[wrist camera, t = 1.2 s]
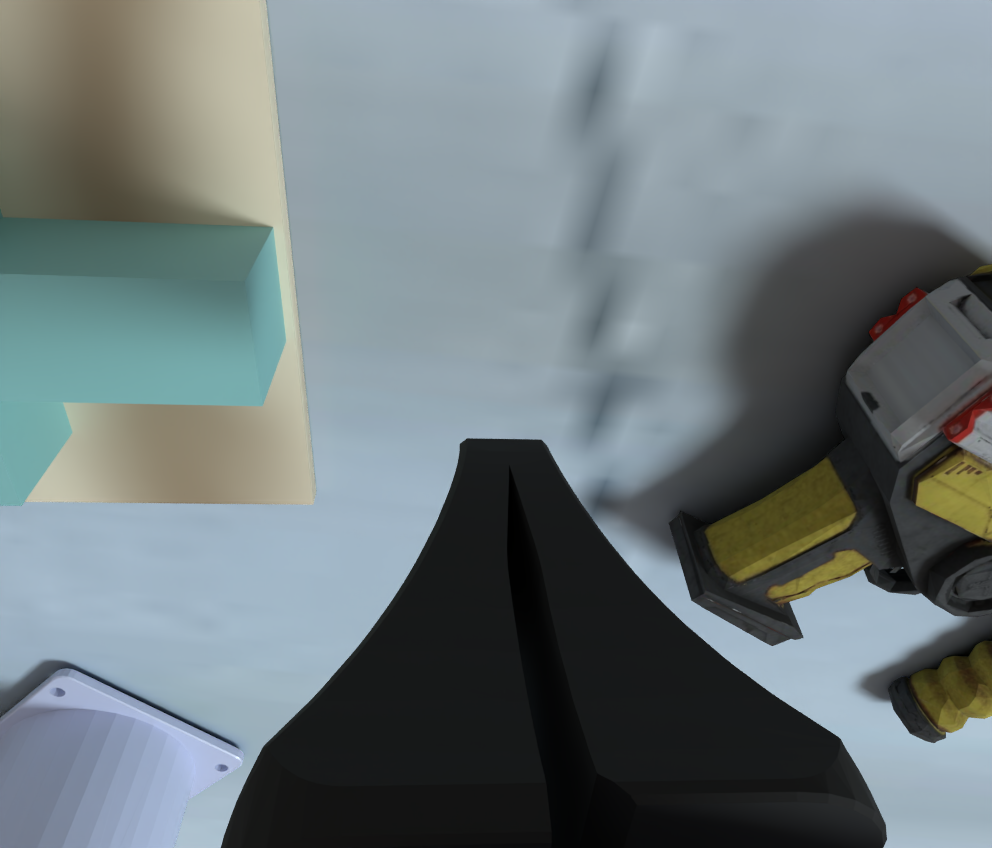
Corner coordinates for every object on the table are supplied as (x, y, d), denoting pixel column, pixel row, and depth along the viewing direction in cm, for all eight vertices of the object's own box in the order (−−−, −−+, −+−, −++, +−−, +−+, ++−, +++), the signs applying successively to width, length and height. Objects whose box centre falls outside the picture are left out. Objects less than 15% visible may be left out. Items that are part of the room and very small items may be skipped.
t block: (-44, 430, 20) (-112, 504, 18) (-201, 65, 15) (-326, 98, 13) (297, 436, 21) (277, 508, 19) (257, 88, 16) (222, 124, 13)
